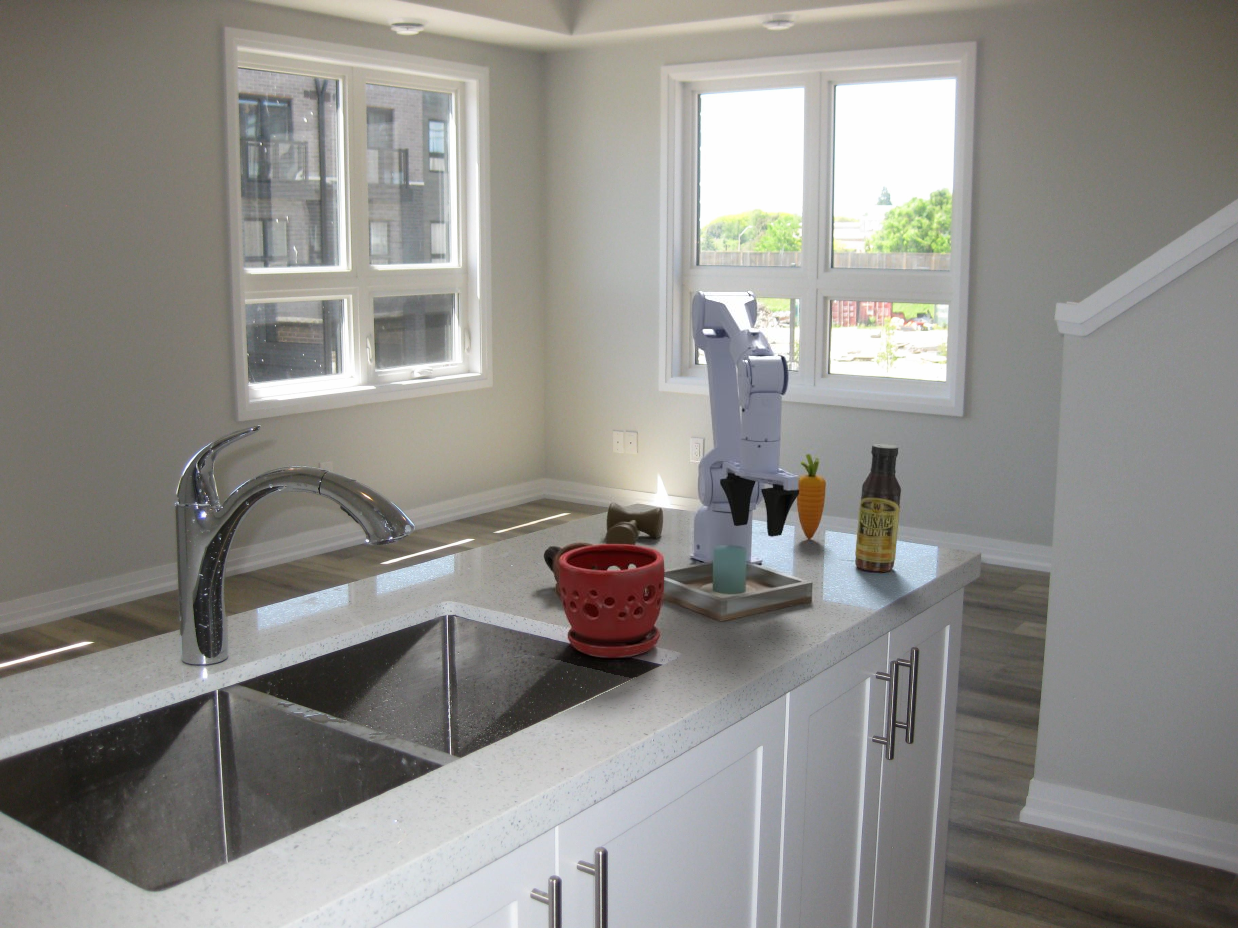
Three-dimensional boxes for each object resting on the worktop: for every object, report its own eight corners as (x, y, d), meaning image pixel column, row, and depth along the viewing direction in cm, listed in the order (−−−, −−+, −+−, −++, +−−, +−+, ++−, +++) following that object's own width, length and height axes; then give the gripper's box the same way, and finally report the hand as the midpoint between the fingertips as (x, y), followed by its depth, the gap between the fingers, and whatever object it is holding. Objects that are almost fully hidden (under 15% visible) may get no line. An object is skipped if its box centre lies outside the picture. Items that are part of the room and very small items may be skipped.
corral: (646, 591, 169) (646, 573, 169) (733, 574, 179) (734, 557, 178) (721, 621, 155) (721, 601, 155) (811, 601, 165) (812, 582, 165)
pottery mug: (626, 590, 172) (623, 551, 166) (587, 630, 166) (583, 591, 161) (562, 559, 177) (558, 520, 172) (523, 596, 172) (517, 557, 166)
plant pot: (584, 626, 153) (584, 538, 151) (677, 639, 148) (679, 548, 146) (540, 656, 141) (540, 561, 139) (640, 671, 136) (641, 573, 134)
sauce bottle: (851, 570, 182) (857, 446, 178) (858, 561, 187) (864, 441, 184) (893, 575, 179) (900, 449, 176) (899, 565, 185) (906, 443, 182)
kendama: (590, 556, 192) (615, 526, 211) (647, 561, 190) (667, 530, 209) (591, 521, 190) (616, 494, 210) (648, 526, 189) (668, 498, 208)
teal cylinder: (705, 588, 168) (706, 547, 167) (731, 583, 170) (732, 543, 169) (727, 595, 164) (728, 554, 163) (752, 590, 166) (753, 550, 165)
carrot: (823, 543, 199) (826, 457, 197) (794, 541, 200) (797, 456, 198) (823, 536, 204) (827, 453, 202) (795, 535, 205) (798, 452, 203)
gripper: (707, 434, 170) (705, 523, 173) (773, 448, 159) (770, 543, 161) (743, 430, 174) (741, 518, 177) (810, 444, 163) (807, 537, 165)
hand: (757, 530), depth 169 cm, fingers open, 7 cm apart
